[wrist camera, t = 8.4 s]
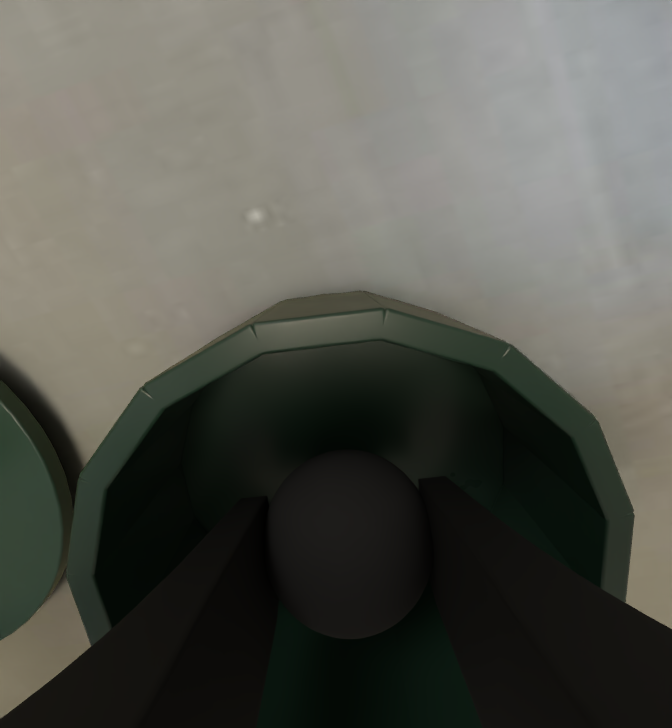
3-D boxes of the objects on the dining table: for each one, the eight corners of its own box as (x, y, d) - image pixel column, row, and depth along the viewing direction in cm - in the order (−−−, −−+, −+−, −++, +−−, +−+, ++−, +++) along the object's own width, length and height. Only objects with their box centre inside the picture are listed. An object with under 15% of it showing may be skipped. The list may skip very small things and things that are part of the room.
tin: (512, 584, 12) (611, 755, 8) (210, 616, 12) (147, 802, 8) (514, 271, 10) (661, 274, 5) (134, 316, 10) (-18, 354, 6)
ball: (417, 537, 10) (462, 678, 7) (286, 551, 10) (264, 699, 7) (408, 415, 9) (456, 505, 6) (265, 431, 9) (226, 530, 6)
